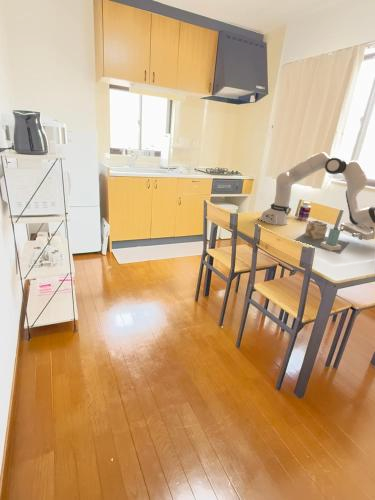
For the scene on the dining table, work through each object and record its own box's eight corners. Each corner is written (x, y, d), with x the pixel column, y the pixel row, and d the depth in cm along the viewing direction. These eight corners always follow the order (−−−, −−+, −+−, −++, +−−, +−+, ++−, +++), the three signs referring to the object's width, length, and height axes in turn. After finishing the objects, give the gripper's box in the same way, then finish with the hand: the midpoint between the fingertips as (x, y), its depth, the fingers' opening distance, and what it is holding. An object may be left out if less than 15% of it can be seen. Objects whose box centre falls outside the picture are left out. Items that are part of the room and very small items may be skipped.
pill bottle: (302, 220, 227) (306, 203, 222) (295, 217, 234) (299, 201, 229) (309, 220, 230) (314, 203, 225) (302, 217, 237) (306, 201, 232)
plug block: (325, 246, 171) (330, 226, 165) (329, 246, 172) (335, 226, 167) (330, 249, 167) (336, 228, 162) (335, 248, 169) (341, 228, 164)
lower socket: (320, 245, 171) (321, 242, 170) (329, 244, 174) (330, 241, 173) (330, 250, 165) (331, 246, 164) (340, 249, 168) (341, 245, 167)
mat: (292, 241, 177) (293, 240, 177) (306, 232, 197) (306, 231, 197) (339, 254, 161) (339, 253, 161) (349, 243, 181) (349, 242, 181)
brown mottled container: (304, 234, 190) (307, 220, 187) (314, 233, 194) (317, 220, 190) (314, 238, 183) (318, 224, 179) (324, 238, 186) (328, 224, 182)
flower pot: (280, 213, 244) (281, 205, 241) (291, 216, 238) (293, 208, 235) (275, 215, 236) (277, 207, 234) (287, 218, 231) (288, 210, 228)
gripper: (350, 219, 183) (334, 222, 179) (379, 230, 166) (362, 234, 162) (348, 228, 186) (332, 230, 182) (375, 240, 169) (359, 243, 165)
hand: (346, 232), depth 172 cm, fingers open, 8 cm apart
